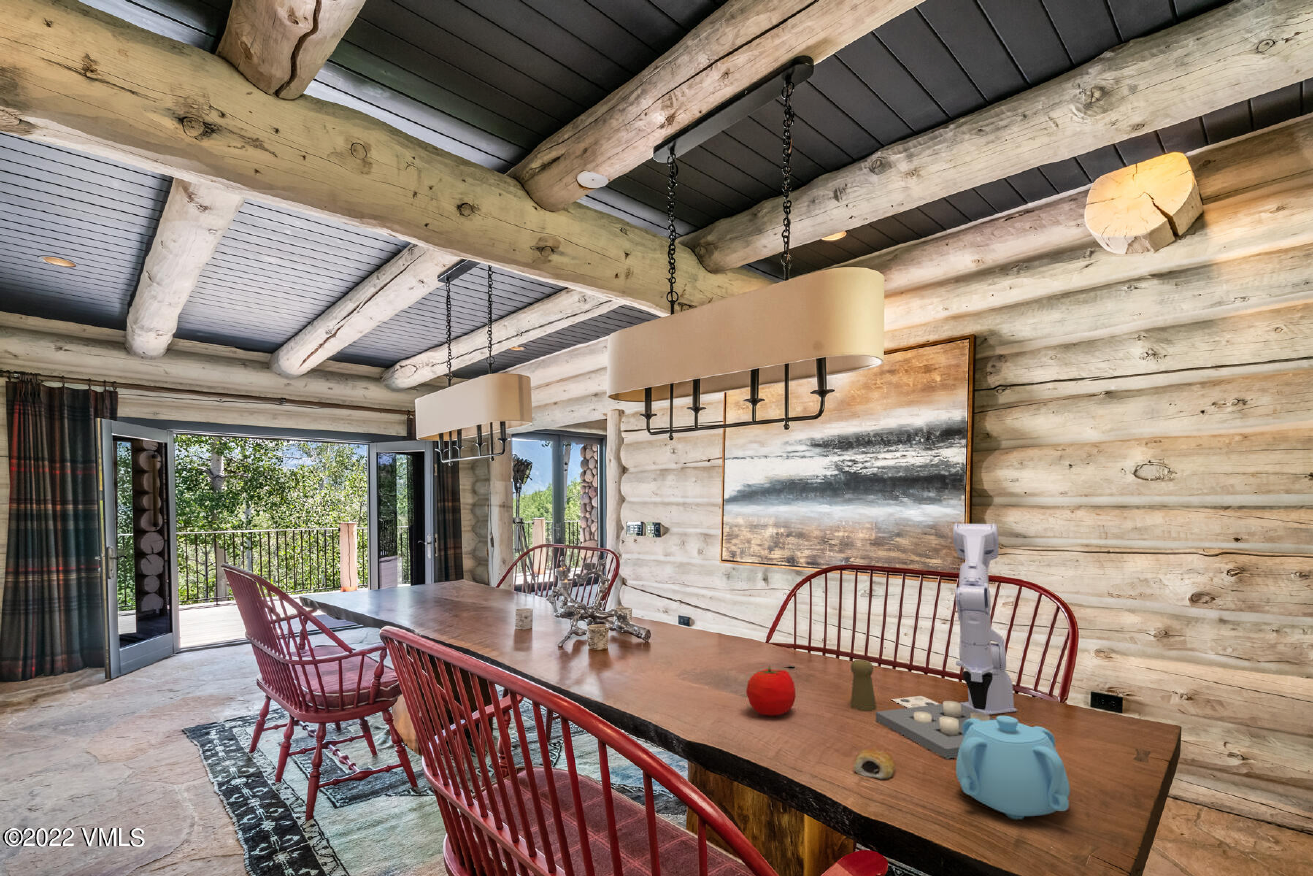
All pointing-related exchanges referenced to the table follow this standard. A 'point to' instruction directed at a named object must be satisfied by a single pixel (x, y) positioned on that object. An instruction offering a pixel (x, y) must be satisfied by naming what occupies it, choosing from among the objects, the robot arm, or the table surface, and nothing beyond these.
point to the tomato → (771, 692)
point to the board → (926, 728)
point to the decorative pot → (1012, 767)
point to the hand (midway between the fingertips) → (979, 708)
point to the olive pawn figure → (862, 686)
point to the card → (914, 701)
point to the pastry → (874, 763)
